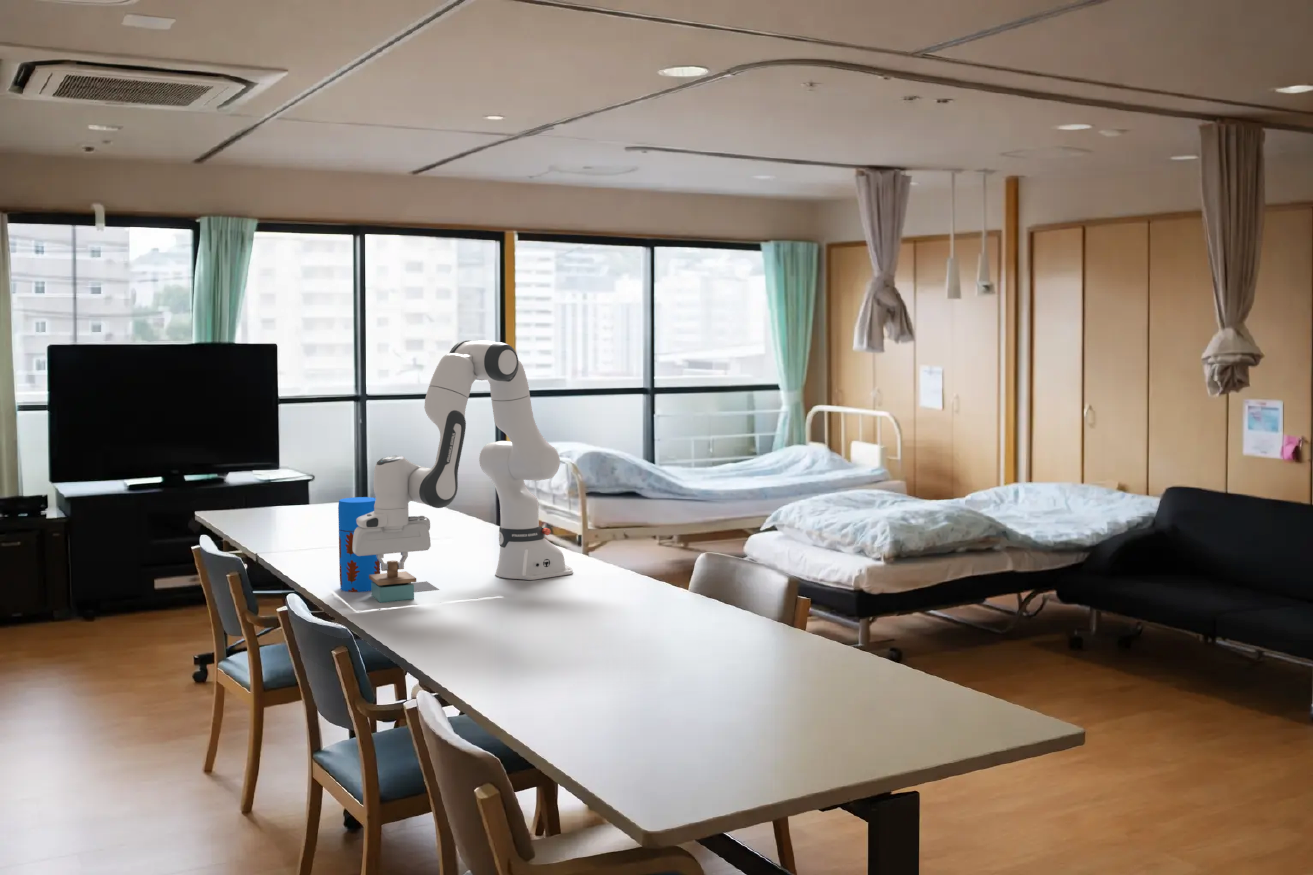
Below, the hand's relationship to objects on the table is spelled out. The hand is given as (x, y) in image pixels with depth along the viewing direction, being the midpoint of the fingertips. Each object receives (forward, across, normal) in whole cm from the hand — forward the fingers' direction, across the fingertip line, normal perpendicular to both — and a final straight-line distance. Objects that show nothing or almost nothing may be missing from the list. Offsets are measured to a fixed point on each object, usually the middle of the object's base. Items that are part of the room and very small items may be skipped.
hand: (392, 569), depth 316 cm
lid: (+3, 0, 0) cm, 3 cm away
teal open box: (+8, 0, 0) cm, 8 cm away
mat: (+8, -8, -10) cm, 15 cm away
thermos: (+8, +5, -16) cm, 19 cm away
